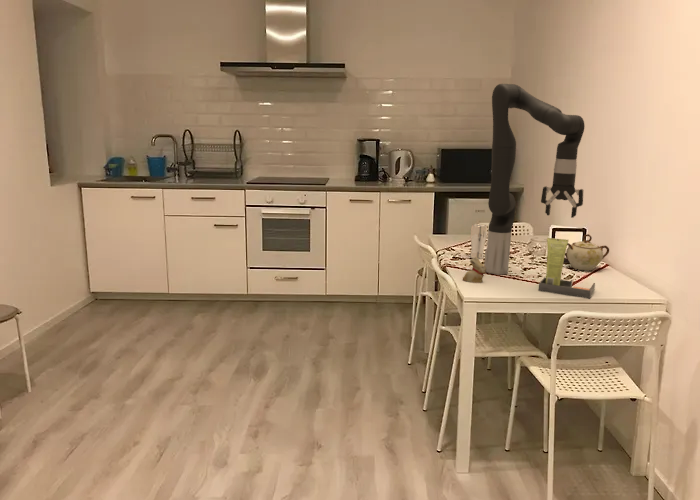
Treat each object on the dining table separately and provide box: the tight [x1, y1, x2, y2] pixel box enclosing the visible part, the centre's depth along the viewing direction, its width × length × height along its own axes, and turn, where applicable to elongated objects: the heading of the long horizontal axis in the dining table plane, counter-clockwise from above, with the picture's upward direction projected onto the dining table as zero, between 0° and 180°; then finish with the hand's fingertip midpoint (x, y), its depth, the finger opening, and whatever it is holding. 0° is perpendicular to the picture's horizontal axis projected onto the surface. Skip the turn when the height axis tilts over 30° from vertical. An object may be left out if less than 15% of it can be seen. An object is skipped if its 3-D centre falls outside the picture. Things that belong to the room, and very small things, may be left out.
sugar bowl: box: [565, 233, 610, 271], centre depth 258 cm, size 20×15×15 cm
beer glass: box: [469, 223, 487, 260], centre depth 273 cm, size 7×7×15 cm
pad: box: [572, 286, 590, 290], centre depth 225 cm, size 6×6×1 cm
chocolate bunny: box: [462, 257, 486, 284], centre depth 233 cm, size 6×8×10 cm
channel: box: [538, 276, 596, 300], centre depth 224 cm, size 18×12×3 cm, turn 61°
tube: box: [545, 237, 569, 286], centre depth 223 cm, size 6×5×20 cm
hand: (560, 216), depth 219 cm, fingers open, 8 cm apart
